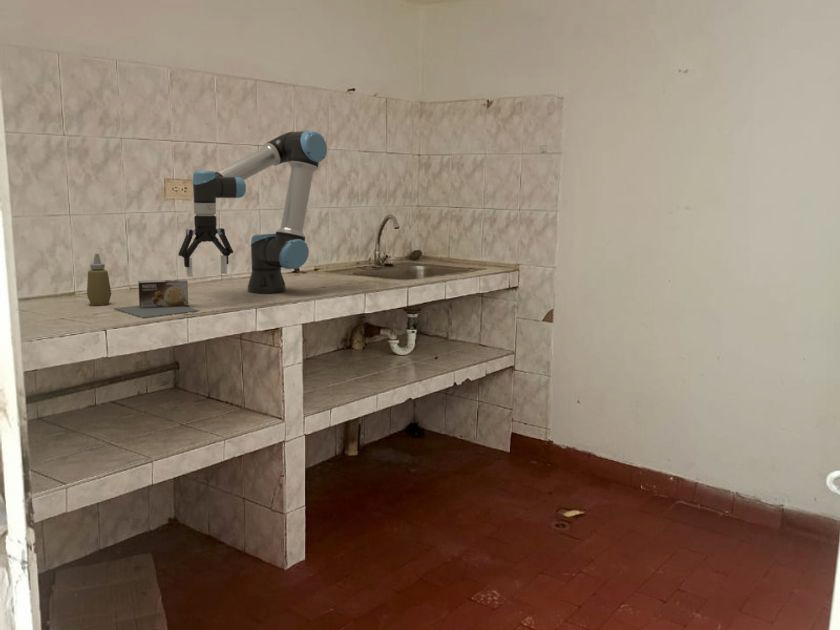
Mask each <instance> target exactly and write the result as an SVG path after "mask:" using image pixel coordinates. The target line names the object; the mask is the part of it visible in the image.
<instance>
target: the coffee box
mask: <svg viewBox="0 0 840 630" xmlns="http://www.w3.org/2000/svg"><path fill="white" fill-rule="evenodd" d="M137 282H138V301H139V305H138V306H140V308H150V307H171V306H185V307H189V287H188V285H189V284H188V280H187V279H186V278H182V279H155V280H154V279H153V280H152V279H151V280H138V281H137Z"/></svg>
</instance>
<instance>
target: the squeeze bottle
mask: <svg viewBox="0 0 840 630" xmlns="http://www.w3.org/2000/svg"><path fill="white" fill-rule="evenodd" d="M89 265H90V270H88V271H87V285H86V287H87V288H86V296H87V299H88V301H89V304H90V305H91V306H92V305H93V306H105V305H106V306H107V305H109V304H110V300H111V296H112V290H111V285H110V284H111V283H110V278H109V271H108V270H106V269H105V268H106V265H105V263H102V260H101V258H100V254H99V253H94V258H93V263H91V264H89Z"/></svg>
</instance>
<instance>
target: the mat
mask: <svg viewBox="0 0 840 630" xmlns="http://www.w3.org/2000/svg"><path fill="white" fill-rule="evenodd" d="M114 309H115V311H118V312H121V313H124V312H125V313H124V314H127V313H128V315H130V314H132V315H131V316H134V315H135V316H134V317H137V316H138V317H137V318H140V317H142V318H141V319H148V318H147V317H151V318H156V317H155V316H159V317H164V316H163V315H167V316H173V315H172V314H175V315H180V314H179V313H184V314H189V313H188V312H192V313H198V312H197V311H201V310H200V309H196V308H191V307H189V306H171V307H150V308H140V306H139V305H132V306H131V305H130V306H123V307H114V308H113V310H114Z"/></svg>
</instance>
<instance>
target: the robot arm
mask: <svg viewBox="0 0 840 630" xmlns="http://www.w3.org/2000/svg"><path fill="white" fill-rule="evenodd" d="M327 153H328V144H327V142H326V140H325V138H324V136H323V135H322V134H321V133H319V132H317V131H314V130H303V131H289V132H286V133H283V134H281V135H278V136H277V137H275V138H273V139H271V140H270V141H267V142H266V143H264V144H263V146H262V147H261V148H260V149H257V150H256V151H254V152H252V153H250V154H248V155H246V156H243V157H242V158H240V159H238V160H236V161H234V162H232V163H230V164H228V165H226V166H224V167H222V168H221V169H218V170H216V171H213V170H195V171H193V173H192V189H193V190H192V191H193V192H192V195H193V214H194V216H193V217H194V220H193V221H194V222H193V223H194V229H186V231H185V233H186V234H185V237H184V240H183V241H182V244H181V247H180V249H179V251H178V256H179V257H182V258H183V265H184V267H185V268H186V277H190V278H191V277H192V278H193V275H194V274H193V258H192V257H191V256H192V255H193V253H195V250H196V249H197V248H198V246H199V244H201V243H206V242H209V243H210V242H212V243H213V244H214V246H215V247H216V248H217V249H218V250H219V252H220V253H221V255H220V272H221V273H220V274H224V275H227V274H228V270H227V269H228V265H229V256H230V255H231V254H234V249H233V248H232V246H231V244H230V241H229V240H228V238H227V235H226V230H225V229H224V228H222V227H221V228H220V227H219V228H217V216H216V214H217V201H216V200H217V199H239V198H243V197H244V196H245V195H246V191H247V184H246V180H247V179H249V178H251V177H254V175H257V174H258V173H260V172H262V171H264V170H266V169H268V168H269V167H272V166H275V167H277V166H279V165H281V164H283V163H287V164H288V165H289V166H290V168H291V169H290V174H289V179H288V185H287V191H286V197H285V203H284V206H283V207H284V208H283V213H282V218H281V224H280V228H279V229H277V230H276V231H275V233H264V234H254V235H252V236H251V239H250V249H251V250H250V252H251V253H250V254H251V255H250V258H251V274H250V277H249V281H248V284H247V292H249V293H255V294H278V293H283V292H286V291H287V290H286V287H287V286H286V283H285V280H284V277H283V274H282V269H285V270H286V269H287V270H295V269H299V268H301V267H302V266H303V265H304V264H306V262H307V260H308V259H309V254H310V251H309V250H310V249H309V247H308V244H307V243H306V242H305V241H306V235H305V234H304V226H305V220H306V214H307V209H308V203H309V197H310V192H311V187H312V181H313V175H314V172H316V171H317V170H318V169H319V164H320V162H322V161H323V160H324V159H325V158H326V157H327ZM194 235H195V236H194ZM216 235H218V236H219V238H220V239H218V237H217V236H216ZM193 236H194V238H193ZM192 240H193V241H192ZM220 240H221V241H220ZM191 241H192V242H191Z"/></svg>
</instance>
